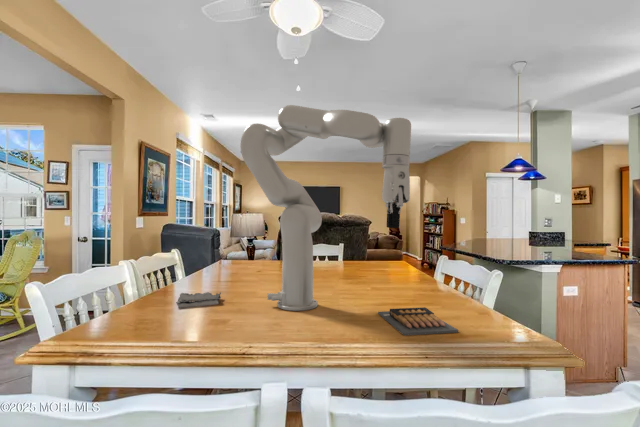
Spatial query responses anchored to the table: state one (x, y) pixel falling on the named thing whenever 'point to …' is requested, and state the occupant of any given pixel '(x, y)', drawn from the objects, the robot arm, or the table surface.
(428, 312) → the ammunition clip
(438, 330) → the mat
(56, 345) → the table surface
